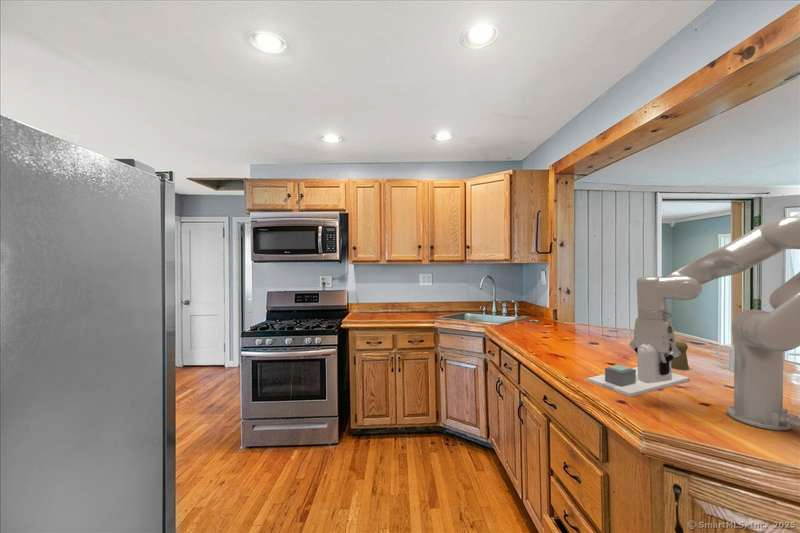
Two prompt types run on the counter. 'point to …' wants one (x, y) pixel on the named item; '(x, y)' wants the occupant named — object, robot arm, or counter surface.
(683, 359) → the olive green bristly cone
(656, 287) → the robot arm
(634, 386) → the mounting board
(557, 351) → the counter surface
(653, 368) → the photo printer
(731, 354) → the cup
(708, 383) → the counter surface
